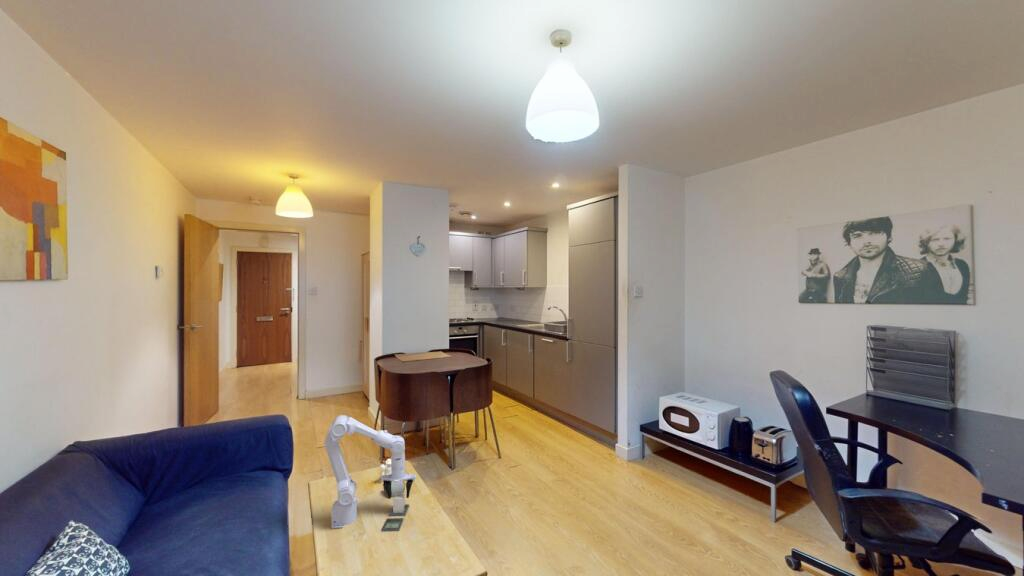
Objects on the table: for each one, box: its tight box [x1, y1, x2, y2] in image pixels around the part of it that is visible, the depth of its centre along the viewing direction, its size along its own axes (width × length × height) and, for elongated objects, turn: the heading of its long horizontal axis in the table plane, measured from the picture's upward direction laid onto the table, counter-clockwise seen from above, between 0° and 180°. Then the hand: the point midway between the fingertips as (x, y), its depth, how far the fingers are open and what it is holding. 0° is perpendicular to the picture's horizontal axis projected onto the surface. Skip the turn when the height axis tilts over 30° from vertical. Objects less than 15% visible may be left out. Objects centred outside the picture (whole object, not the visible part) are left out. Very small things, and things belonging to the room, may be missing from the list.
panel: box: [380, 503, 410, 532], centre depth 166 cm, size 9×18×2 cm, turn 2°
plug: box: [392, 492, 406, 513], centre depth 171 cm, size 4×4×7 cm
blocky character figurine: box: [379, 458, 392, 477], centre depth 198 cm, size 9×4×12 cm, turn 125°
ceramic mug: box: [383, 481, 406, 498], centre depth 187 cm, size 11×8×8 cm
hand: (399, 497), depth 171 cm, fingers open, 7 cm apart
